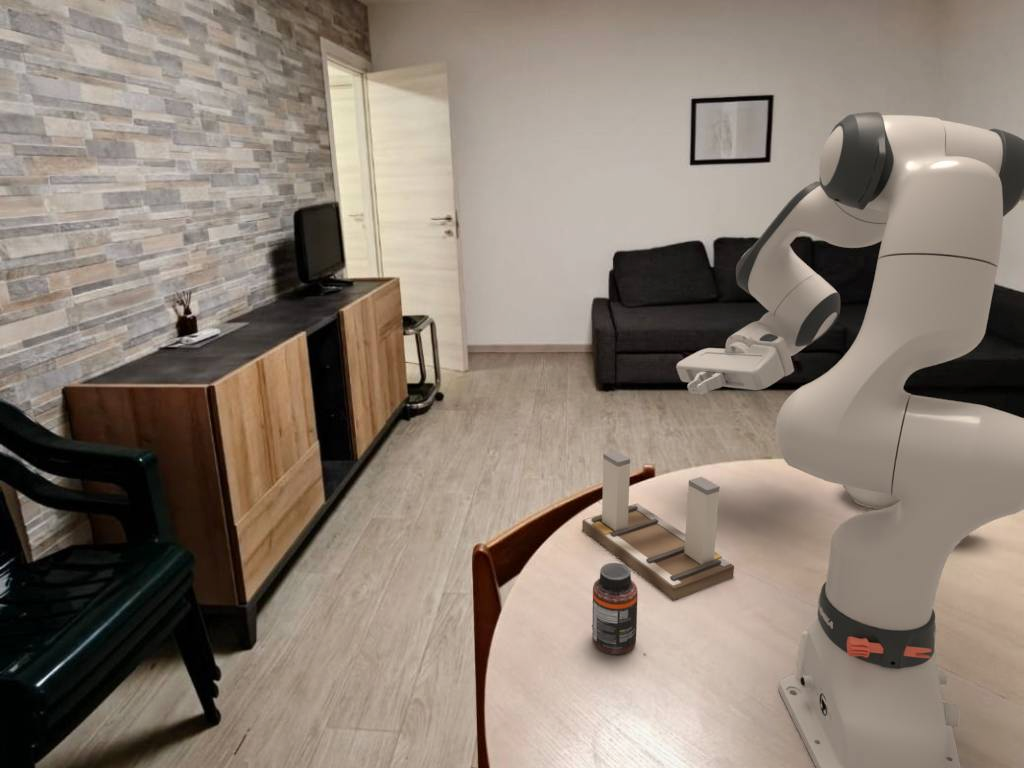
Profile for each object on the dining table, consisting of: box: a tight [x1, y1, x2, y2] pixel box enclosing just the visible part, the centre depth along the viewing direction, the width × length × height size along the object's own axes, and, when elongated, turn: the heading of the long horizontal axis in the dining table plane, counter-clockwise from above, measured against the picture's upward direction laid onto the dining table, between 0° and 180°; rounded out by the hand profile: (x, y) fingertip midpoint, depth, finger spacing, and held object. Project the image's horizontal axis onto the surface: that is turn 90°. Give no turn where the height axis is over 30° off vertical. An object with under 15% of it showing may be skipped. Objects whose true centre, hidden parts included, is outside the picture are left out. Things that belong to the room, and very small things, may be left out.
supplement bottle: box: [591, 562, 639, 655], centre depth 98 cm, size 6×6×11 cm
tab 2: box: [684, 476, 720, 565], centre depth 113 cm, size 4×2×13 cm, turn 29°
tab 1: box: [601, 450, 631, 531], centre depth 123 cm, size 4×2×13 cm, turn 29°
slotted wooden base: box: [581, 503, 735, 601], centre depth 120 cm, size 24×12×3 cm, turn 29°
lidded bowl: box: [842, 485, 901, 510], centre depth 135 cm, size 13×13×11 cm
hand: (693, 390), depth 122 cm, fingers closed
